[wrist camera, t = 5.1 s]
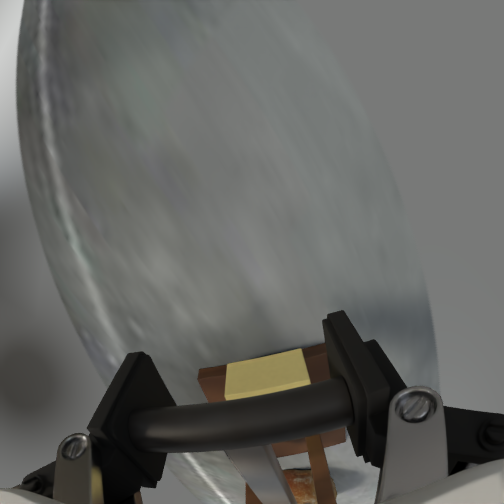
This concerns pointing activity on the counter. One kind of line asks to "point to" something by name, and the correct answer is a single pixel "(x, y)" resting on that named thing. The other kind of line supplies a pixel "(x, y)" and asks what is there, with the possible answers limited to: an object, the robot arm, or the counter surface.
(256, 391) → the butter
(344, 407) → the arm
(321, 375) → the cutter
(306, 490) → the bread roll
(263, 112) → the counter surface
